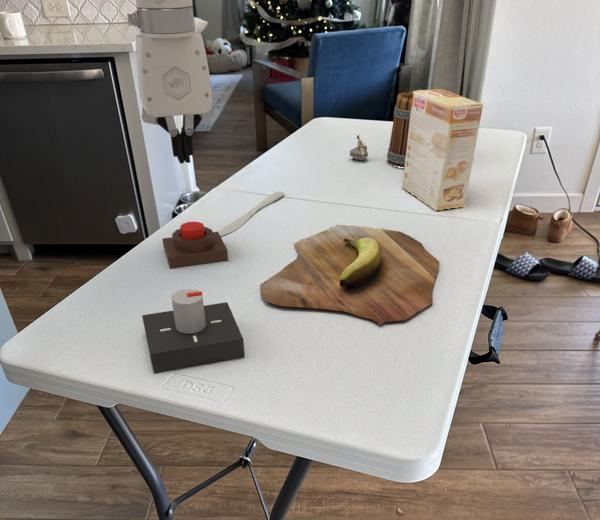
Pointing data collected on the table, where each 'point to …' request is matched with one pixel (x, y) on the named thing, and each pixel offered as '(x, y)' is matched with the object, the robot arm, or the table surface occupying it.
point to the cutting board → (357, 274)
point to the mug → (400, 130)
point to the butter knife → (249, 214)
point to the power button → (192, 230)
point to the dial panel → (193, 339)
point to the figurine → (359, 151)
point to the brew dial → (188, 311)
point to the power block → (194, 249)
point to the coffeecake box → (441, 147)
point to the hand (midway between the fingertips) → (183, 160)
